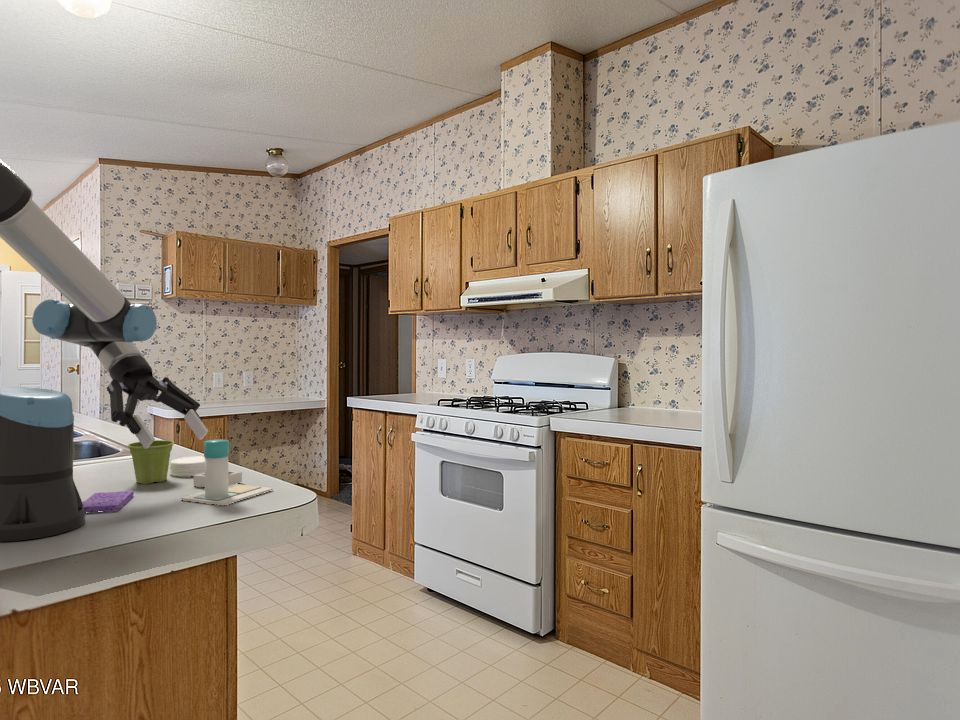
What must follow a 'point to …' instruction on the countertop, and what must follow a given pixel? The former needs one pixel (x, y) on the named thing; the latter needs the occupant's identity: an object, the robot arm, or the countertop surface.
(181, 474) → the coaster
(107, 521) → the countertop surface
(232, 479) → the button housing
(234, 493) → the picture card
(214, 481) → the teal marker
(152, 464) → the plant pot
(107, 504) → the sponges
